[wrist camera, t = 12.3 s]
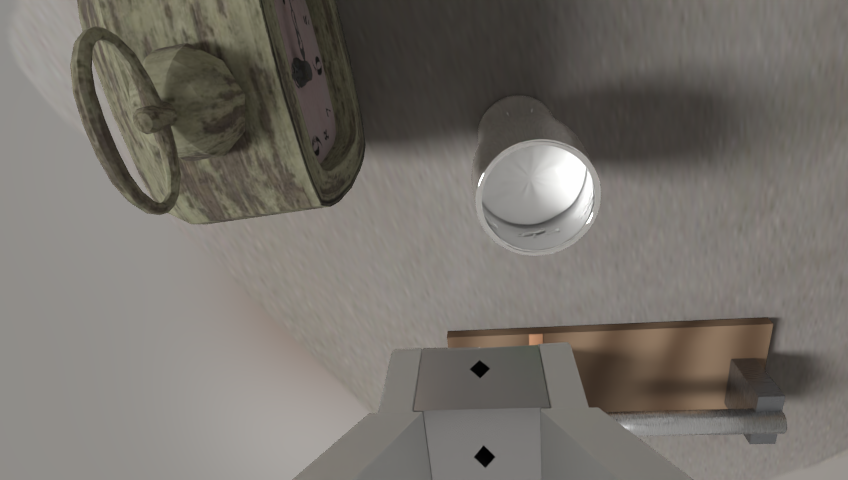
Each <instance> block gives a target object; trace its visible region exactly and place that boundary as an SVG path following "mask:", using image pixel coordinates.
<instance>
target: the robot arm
mask: <svg viewBox="0 0 848 480" xmlns="http://www.w3.org/2000/svg"><path fill="white" fill-rule="evenodd" d="M293 480H693V479H692V478H691V477H689V476H688V475H687V474H685V473H684V472H683V471H681V470H680V469H679V468H677V467H676V466H675V465H674V464H672V463H671V462H670V461H668V460H667V459H666V458H664V457H663V456H662V455H660V454H659V453H658V452H656V451H655V450H654V449H652V448H651V447H650V446H648V445H647V444H646V443H644V442H643V441H642V440H641V439H639V438H638V437H637V436H635V435H634V434H633V433H631V432H630V431H629V430H627V429H626V428H625V427H623V426H622V425H621V424H619V423H618V422H617V421H615V420H614V419H613V418H611V417H610V416H609V415H608V414H606V413H605V412H604V411H602V410H601V409H600V408H598V407H595V408H589V406H588V403H587V400H586V396H585V393H584V389H583V386H582V383H581V379H580V376H579V372H578V369H577V365H576V362H575V359H574V355H573V352H572V348H571V345H570V344H569V343H568V342H561V343H547V344H538V345H526V346H506V347H486V348H480V347H460V348H423V349H421V348H413V349H395V350H394V351H393V352H392V354H391V358H390V362H389V366H388V371H387V375H386V379H385V384H384V388H383V392H382V397H381V401H380V405H379V410H378V413H369V414H368V415H367V416H366V417H364V418H363V419H362V420H361V421H360V422H358V424H356V425H355V426H354V427H353V428H351V429H350V430H349V431H348V432H347V433H346V434H345V435H343V436H342V437H341V438H340V439H339V440H338V441H337V442H335V443H334V444H333V445H332V446H331V447H330V448H328V449H327V450H326V451H325V452H324V453H323V454H321V455H320V456H319V457H318V458H317V459H316V460H315V461H313V462H312V463H311V464H310V465H309V466H308V467H306V468H305V469H304V470H303V471H302V472H301V473H299V474H298V475H297V476H296V477H295V478H294V479H293Z"/></svg>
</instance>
